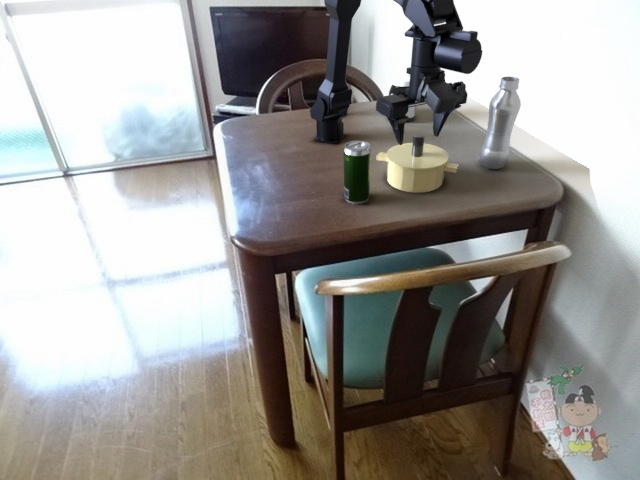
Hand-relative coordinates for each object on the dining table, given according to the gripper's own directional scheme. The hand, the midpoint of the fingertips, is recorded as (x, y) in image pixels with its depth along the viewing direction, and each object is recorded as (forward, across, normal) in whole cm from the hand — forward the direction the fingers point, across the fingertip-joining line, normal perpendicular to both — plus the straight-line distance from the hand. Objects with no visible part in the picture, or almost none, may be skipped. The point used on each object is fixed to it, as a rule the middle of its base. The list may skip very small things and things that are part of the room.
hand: (418, 140), depth 93 cm
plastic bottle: (+10, +20, -3) cm, 22 cm away
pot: (+9, 0, 0) cm, 9 cm away
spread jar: (+10, +19, +37) cm, 42 cm away
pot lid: (+4, 0, 0) cm, 4 cm away
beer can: (+10, -16, -2) cm, 18 cm away
